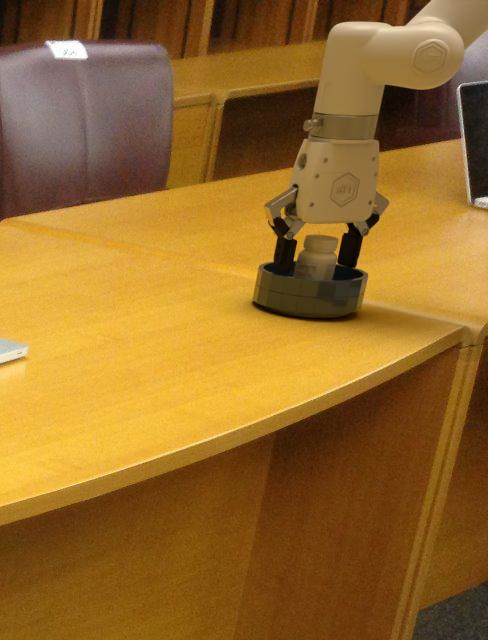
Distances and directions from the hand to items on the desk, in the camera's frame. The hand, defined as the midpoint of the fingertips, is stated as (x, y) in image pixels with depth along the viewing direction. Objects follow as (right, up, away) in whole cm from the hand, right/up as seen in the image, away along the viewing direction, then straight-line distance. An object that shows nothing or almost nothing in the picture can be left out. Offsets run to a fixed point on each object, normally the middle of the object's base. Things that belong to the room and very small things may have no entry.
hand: (314, 267), depth 200 cm
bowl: (0, -5, +2) cm, 5 cm away
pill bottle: (0, -4, +2) cm, 5 cm away
